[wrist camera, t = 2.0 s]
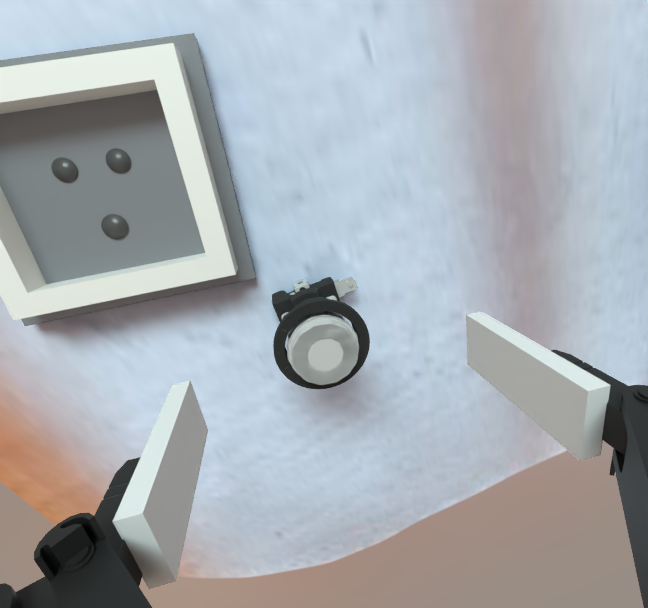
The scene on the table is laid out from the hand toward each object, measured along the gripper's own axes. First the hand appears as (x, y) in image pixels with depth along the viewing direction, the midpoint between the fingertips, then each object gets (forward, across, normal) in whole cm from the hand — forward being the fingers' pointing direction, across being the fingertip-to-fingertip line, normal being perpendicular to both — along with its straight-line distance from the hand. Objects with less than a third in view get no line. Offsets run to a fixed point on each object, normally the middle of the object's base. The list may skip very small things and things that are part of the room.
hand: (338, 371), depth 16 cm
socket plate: (+12, +12, -10) cm, 19 cm away
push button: (+12, 0, 0) cm, 12 cm away
